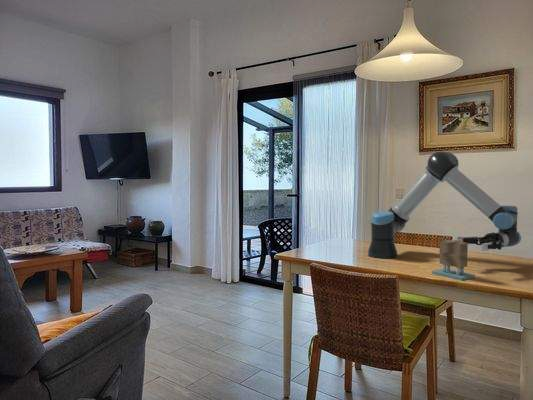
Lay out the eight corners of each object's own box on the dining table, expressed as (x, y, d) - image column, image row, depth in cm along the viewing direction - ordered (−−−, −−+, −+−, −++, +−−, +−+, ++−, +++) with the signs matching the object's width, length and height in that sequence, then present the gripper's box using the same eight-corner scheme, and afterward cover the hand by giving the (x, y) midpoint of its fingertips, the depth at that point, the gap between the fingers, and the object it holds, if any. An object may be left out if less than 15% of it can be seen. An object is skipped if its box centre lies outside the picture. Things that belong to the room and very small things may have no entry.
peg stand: (432, 273, 175) (432, 263, 174) (445, 270, 179) (445, 260, 179) (461, 280, 163) (461, 269, 162) (474, 277, 167) (475, 266, 167)
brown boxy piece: (439, 263, 174) (439, 240, 173) (446, 262, 176) (446, 239, 176) (460, 267, 165) (460, 243, 165) (467, 266, 167) (467, 242, 167)
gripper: (523, 252, 175) (495, 258, 164) (470, 244, 197) (442, 248, 186) (524, 235, 174) (495, 240, 164) (470, 229, 196) (442, 232, 186)
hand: (467, 244), depth 175 cm, fingers open, 13 cm apart
